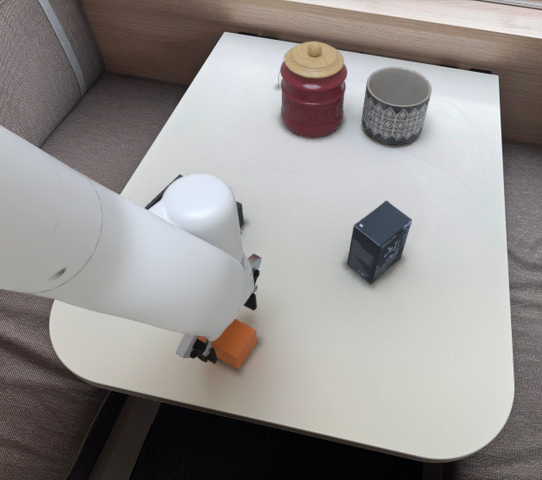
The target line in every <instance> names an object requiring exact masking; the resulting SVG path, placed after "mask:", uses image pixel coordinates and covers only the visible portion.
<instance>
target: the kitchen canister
mask: <svg viewBox="0 0 542 480" xmlns="http://www.w3.org/2000/svg"><path fill="white" fill-rule="evenodd" d="M285 53H286V55H285V54H284V55H285V57H284V60H283V63H282V62H281V65H280V67H279V68H280V70H279V72H280V76H281V78H282V79H281V81H280V89H281V105H280V106H281V107H280V116H281V119H282V122H283V124H284V126H285V127H286V128H287V130H289V131H290V132H291V133H293V134H294V135H298V136H299V137H303V138H304V137H305V138H310V139H311V138H313V139H315V138H322V137H326V136H329V135H331V134H333V133H335V132H336V131H337V130H339V128H340V126H341V124H342V121H343V118H344V113H345V112H344V102H345V93H346V89H347V85H346V82H345V81H346V79H347V77H348V68H347V66H346V63H345V60H344V56H343V54H342V53H341V51H339V50H338V49H336V48H335V47H333V46H331V45H329V44H327V43H325V42H321V41H316V40H314V41H306V42H302V43H299V44H297V45H294V46H293V47H291V48H290V49H288V50H287V51H286V52H285Z"/></svg>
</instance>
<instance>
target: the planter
mask: <svg viewBox="0 0 542 480" xmlns="http://www.w3.org/2000/svg"><path fill="white" fill-rule="evenodd" d="M432 91H433V89H432V85H431V82H430V81H429V80H428V78H426V76H424V75H423V74H422V73H420V72H418V71H416V70H413V69H411V68H407V67H403V66H402V67H401V66H387V67H381V68H379V69H376V70H375V71H373V72H372V73H371V74H370V75H369V76H368V77H367V80H366V84H365V92H364V98H363V99H364V100H363V108H362V116H361V125H362V128H363V130H364V131H365V133H366V134H367V135H368V136H370V137H371V138H373V139H374V140H376V141H379V142H380V143H384V144H389V145H403V144H406V143H407V144H408V143H409V142H412V141H414V140H415V139H417V138H418V137H419V136H420V135H421V133H422V131H423V127H424V123H425V119H426V115H427V111H428V108H429V105H430V100H431V96H432Z"/></svg>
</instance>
